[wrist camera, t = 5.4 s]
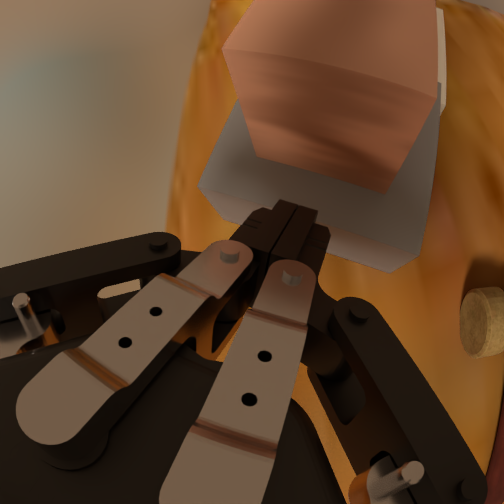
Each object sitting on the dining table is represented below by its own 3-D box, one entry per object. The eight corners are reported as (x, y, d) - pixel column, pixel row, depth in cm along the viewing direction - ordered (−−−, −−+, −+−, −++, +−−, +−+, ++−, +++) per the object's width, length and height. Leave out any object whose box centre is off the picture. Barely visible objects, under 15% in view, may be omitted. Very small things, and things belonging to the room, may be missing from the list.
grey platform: (418, 129, 22) (441, 83, 16) (389, 273, 20) (419, 255, 14) (277, 90, 25) (269, 38, 19) (223, 219, 23) (197, 186, 17)
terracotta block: (403, 96, 16) (435, -6, 9) (384, 194, 15) (437, 98, 8) (294, 67, 18) (282, -38, 10) (256, 156, 17) (221, 48, 9)
